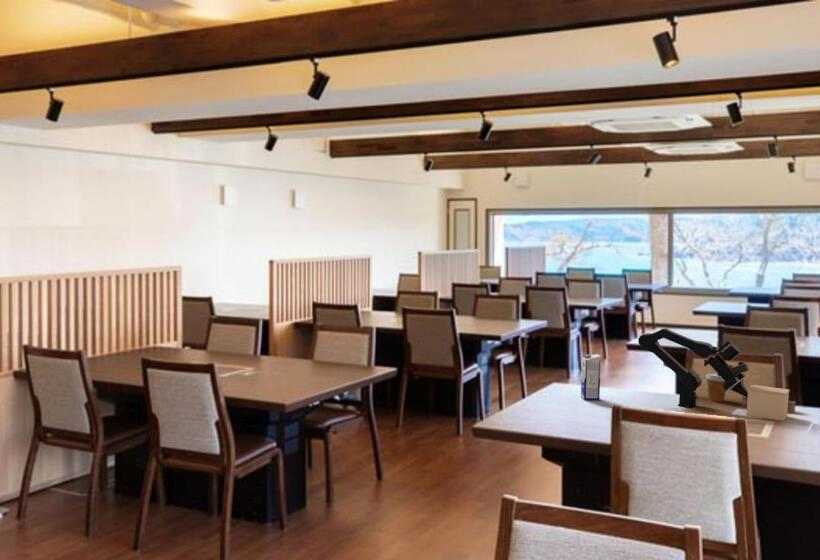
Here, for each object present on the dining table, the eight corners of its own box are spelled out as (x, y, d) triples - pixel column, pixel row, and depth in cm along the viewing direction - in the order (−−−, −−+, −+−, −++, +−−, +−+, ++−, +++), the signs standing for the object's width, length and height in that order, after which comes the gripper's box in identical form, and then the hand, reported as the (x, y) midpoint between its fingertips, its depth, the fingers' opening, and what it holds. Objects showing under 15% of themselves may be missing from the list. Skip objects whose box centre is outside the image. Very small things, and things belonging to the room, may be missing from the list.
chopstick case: (741, 407, 336) (742, 397, 336) (743, 405, 341) (744, 395, 340) (793, 414, 325) (794, 403, 325) (795, 412, 329) (795, 401, 329)
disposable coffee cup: (729, 400, 350) (730, 374, 349) (725, 404, 342) (726, 377, 341) (707, 398, 355) (708, 372, 354) (702, 401, 347) (704, 375, 346)
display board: (730, 415, 321) (730, 414, 321) (736, 409, 332) (736, 408, 332) (795, 424, 308) (795, 423, 308) (799, 418, 319) (799, 416, 319)
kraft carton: (745, 415, 319) (747, 388, 318) (750, 411, 327) (751, 384, 326) (784, 420, 311) (786, 393, 311) (787, 416, 319) (789, 389, 318)
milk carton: (599, 400, 343) (601, 355, 342) (584, 400, 343) (585, 355, 342) (595, 397, 350) (597, 353, 349) (580, 396, 350) (582, 352, 349)
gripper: (732, 358, 317) (760, 388, 311) (741, 353, 333) (768, 381, 327) (711, 375, 322) (738, 405, 316) (720, 369, 337) (747, 397, 332)
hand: (748, 396), depth 323 cm, fingers closed, pressing on kraft carton
